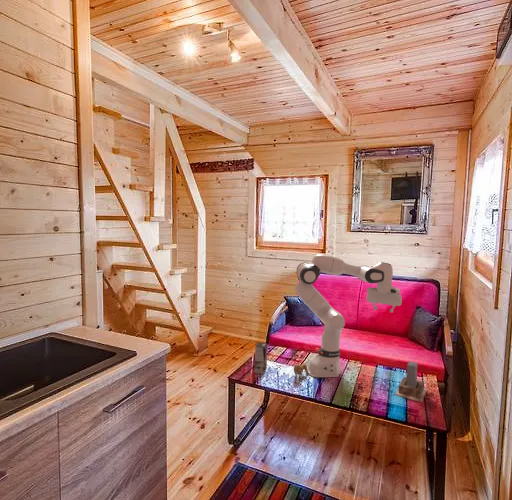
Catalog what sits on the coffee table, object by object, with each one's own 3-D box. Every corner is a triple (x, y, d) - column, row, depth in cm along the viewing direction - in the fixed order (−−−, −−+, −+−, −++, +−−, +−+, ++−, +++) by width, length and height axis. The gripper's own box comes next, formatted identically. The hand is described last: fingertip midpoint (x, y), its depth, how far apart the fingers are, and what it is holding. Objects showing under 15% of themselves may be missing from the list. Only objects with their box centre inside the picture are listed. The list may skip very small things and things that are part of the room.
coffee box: (264, 374, 199) (265, 347, 198) (254, 372, 200) (254, 346, 200) (267, 368, 208) (267, 343, 207) (257, 367, 209) (257, 342, 209)
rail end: (405, 392, 178) (406, 365, 177) (408, 387, 184) (409, 360, 183) (414, 394, 175) (415, 367, 174) (416, 389, 181) (417, 362, 180)
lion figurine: (299, 382, 189) (299, 366, 189) (291, 379, 192) (291, 364, 192) (309, 373, 202) (310, 359, 201) (301, 371, 204) (302, 357, 204)
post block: (395, 394, 176) (395, 385, 176) (401, 384, 190) (401, 375, 189) (422, 402, 169) (422, 392, 169) (426, 390, 182) (426, 381, 182)
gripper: (365, 287, 205) (364, 309, 206) (400, 291, 194) (399, 314, 194) (368, 286, 210) (367, 307, 211) (402, 289, 199) (401, 312, 199)
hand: (383, 310), depth 202 cm, fingers open, 8 cm apart
